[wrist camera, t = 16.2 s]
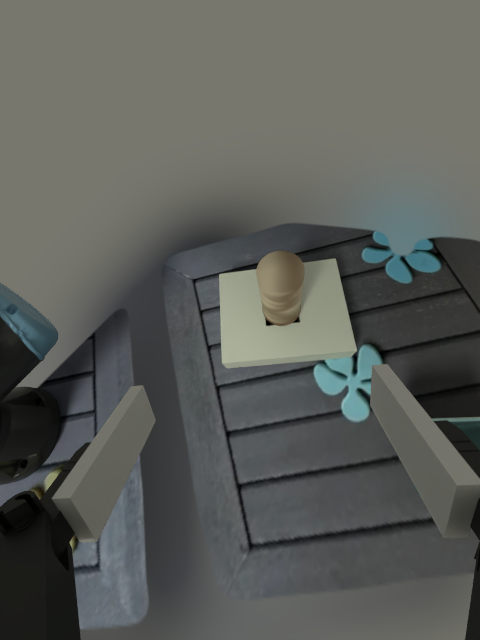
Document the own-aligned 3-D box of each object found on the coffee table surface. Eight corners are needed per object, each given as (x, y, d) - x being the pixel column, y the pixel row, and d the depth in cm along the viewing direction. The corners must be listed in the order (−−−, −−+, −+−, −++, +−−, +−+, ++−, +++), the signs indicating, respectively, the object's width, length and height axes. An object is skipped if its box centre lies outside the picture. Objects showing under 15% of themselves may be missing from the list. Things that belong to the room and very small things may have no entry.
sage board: (227, 368, 44) (221, 363, 41) (224, 285, 50) (219, 274, 47) (350, 357, 42) (356, 350, 38) (331, 271, 48) (335, 258, 44)
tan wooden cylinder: (265, 335, 45) (257, 296, 31) (262, 303, 47) (253, 253, 33) (301, 331, 44) (309, 289, 30) (296, 299, 46) (301, 246, 32)
